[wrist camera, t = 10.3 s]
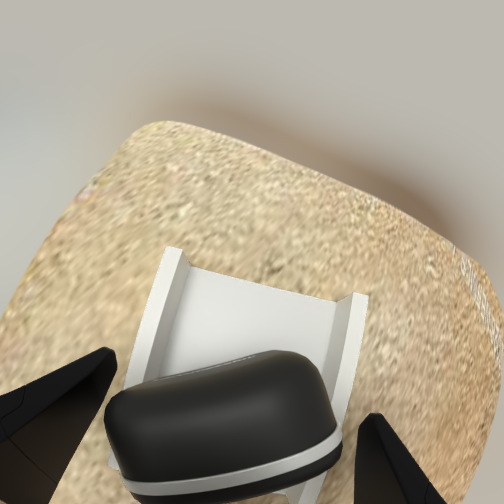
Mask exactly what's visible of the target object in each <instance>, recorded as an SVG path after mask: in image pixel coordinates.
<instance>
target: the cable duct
mask: <svg viewBox="0 0 504 504" xmlns="http://www.w3.org/2000/svg"><path fill="white" fill-rule="evenodd" d="M368 297H369V296H367V295H362V294H358V293H354V292H353V293H352V294H350V295H348V296H347V297H345V298H343V299H342V300H340V301H338V302H333V301H328V300H324V299H320V298H315V297H311V296H307V295H303V294H299V293H294V292H290V291H286V290H282V289H278V288H274V287H270V286H266V285H262V284H258V283H254V282H250V281H246V280H242V279H238V278H234V277H230V276H226V275H223V274H219V273H215V272H211V271H207V270H204V269H200V268H196V267H192V266H191V265H190V263H189V261H188V259H187V257H186V255H185V254H184V252H183V250H181V249H178V248H174V247H170V246H167V247H166V249H165V252H164V255H163V257H162V260H161V263H160V266H159V269H158V272H157V274H156V277H155V280H154V283H153V286H152V289H151V292H150V295H149V298H148V301H147V305H146V308H145V311H144V314H143V317H142V321H141V324H140V327H139V331H138V334H137V338H136V341H135V345H134V348H133V352H132V355H131V359H130V363H129V367H128V371H127V374H126V378H125V382H124V387H123V390H125V389H127V388H129V387H132V386H135V385H137V384H140V383H143V382H147V381H150V380H153V379H157V378H161V377H164V376H169V375H174V374H179V373H183V372H187V371H192V370H196V369H200V368H205V367H209V366H213V365H216V364H220V363H224V362H228V361H231V360H235V359H239V358H242V357H246V356H249V355H252V354H256V353H260V352H265V351H270V350H283V351H292V352H296V353H298V354H301V355H303V356H305V357H307V358H308V359H309V360H310V361H311V362H312V363H313V364H314V365H315V366H316V367H317V368H318V370H319V372H320V375H321V377H322V379H323V381H324V384H325V387H326V390H327V393H328V397H329V400H330V403H331V406H332V410H333V413H334V416H335V417H336V418H337V419H338V420H339V422H340V425H341V428H342V424H343V421H344V417H345V414H346V410H347V406H348V402H349V398H350V394H351V390H352V386H353V382H354V377H355V373H356V368H357V363H358V358H359V353H360V348H361V342H362V337H363V331H364V325H365V318H366V312H367V305H368ZM108 466H110V467H112V468H114V469H116V470H118V471H120V468H119V465H118V463H117V461H116V458H115V456H114V453H113V450H112V448H111V449H110V454H109V460H108ZM327 471H328V470H327ZM327 471H325V472H324V473H322V474H321V475H319V476H317V477H315V478H313V479H310V480H308V481H306V482H303V483H301V484H298V485H295V486H292V487H289V488H286V489H283V490H279V491H276V492H272V493H274V494H283V495H286V497H287V499H288V502H289V504H315V502H316V500H317V497H318V495H319V492H320V490H321V487H322V485H323V482H324V479H325V477H326V474H327Z"/></svg>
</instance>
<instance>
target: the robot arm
mask: <svg viewBox="0 0 504 504" xmlns="http://www.w3.org/2000/svg"><path fill="white" fill-rule="evenodd" d="M116 371H117V360H116V354H115V351H114V350H112V349H110V348H108V347H102V348H100V349H98V350H96V351H94V352H92V353H90V354H88V355H86V356H84V357H82V358H80V359H78V360H76V361H74V362H71V363H69V364H67V365H65V366H63V367H61V368H59V369H57V370H55V371H53V372H51V373H49V374H47V375H45V376H43V377H41V378H39V379H37V380H35V381H32V382H30V383H28V384H27V385H24V386H22V387H20V388H18V389H15V390H13V391H11V392H9V393H6V394H3V395H1V396H0V504H49V502H50V500H51V498H52V496H53V494H54V492H55V490H56V488H57V486H58V483H59V481H60V479H61V477H62V476H63V474H64V472H65V470H66V468H67V466H68V464H69V462H70V460H71V459H72V457H73V455H74V453H75V451H76V449H77V447H78V446H79V444H80V442H81V440H82V438H83V437H84V435H85V433H86V431H87V430H88V428H89V426H90V424H91V422H92V421H93V419H94V417H95V416H96V414H97V412H98V410H99V409H100V407H101V405H102V403H103V401H104V398H105V396H106V394H107V392H108V389H109V387H110V385H111V382H112V380H113V378H114V376H115V373H116ZM354 504H447V503H446V502H445V501H444V499H443V498H442V497H441V496H440V494H439V493H438V492H437V490H436V489H435V488H434V486H433V485H432V483H431V482H430V481H429V479H428V478H427V477H426V475H425V474H424V472H423V471H422V469H421V468H420V467H419V465H418V464H417V462H416V461H415V460H414V458H413V457H412V455H411V454H410V453H409V451H408V450H407V448H406V447H405V445H404V444H403V443H402V441H401V440H400V438H399V437H398V436H397V434H396V433H395V432H394V430H393V429H392V427H391V426H390V425H389V423H388V422H387V420H386V419H385V418H384V416H383V415H382V414H381V413H370V414H369V415H368V416H367V417H366V418H365V419H364V421H363V422H362V423H361V424H360V426H359V429H358V438H357V448H356V457H355V477H354Z"/></svg>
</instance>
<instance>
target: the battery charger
mask: <svg viewBox="0 0 504 504" xmlns="http://www.w3.org/2000/svg"><path fill="white" fill-rule="evenodd" d="M104 424H105V429H106V433H107V437H108V440H109V442H110V445H111V448H112V450H113V453H114V456H115V458H116V461H117V463H118V465H119V468H120V473H119V474H120V477H121V479H122V482H123V484H124V486H125V488H126V489H127V490H129V491H130V492H131V494H132V496H133V497H134V499H136V500H137V501H139V502H140V503H141V504H224V503H230V502H236V501H241V500H245V499H249V498H254V497H258V496H261V495H265V494H269V493H272V492H276V491H279V490H283V489H286V488H289V487H292V486H295V485H298V484H301V483H303V482H306V481H308V480H310V479H313V478H315V477H317V476H319V475H321V474H322V473H324V472H325V471H327V470H328V469H330V468H331V467H333V466H334V464H335V463H336V462H337V461H338V460H339V458H340V456H341V452H342V447H343V445H342V437H343V432H342V429H341V425H340V422H339V420H338V419H337V418H336V417H335V416H334V413H333V410H332V406H331V403H330V400H329V397H328V393H327V390H326V387H325V384H324V381H323V379H322V377H321V375H320V372H319V370H318V368H317V367H316V366H315V365H314V364H313V363H312V362H311V361H310V360H309V359H308V358H307V357H305V356H303V355H301V354H298V353H296V352H292V351H283V350H270V351H265V352H260V353H256V354H252V355H249V356H246V357H242V358H239V359H235V360H231V361H228V362H224V363H220V364H216V365H213V366H209V367H205V368H200V369H196V370H192V371H187V372H183V373H179V374H174V375H169V376H164V377H161V378H157V379H153V380H150V381H147V382H143V383H140V384H137V385H135V386H132V387H129V388H127V389H125V390H122V391H120V392H119V393H118V394H116V395H115V396H113V397H112V398H111V400H110V401H109V403H108V404H107V406H106V408H105V414H104Z"/></svg>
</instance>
